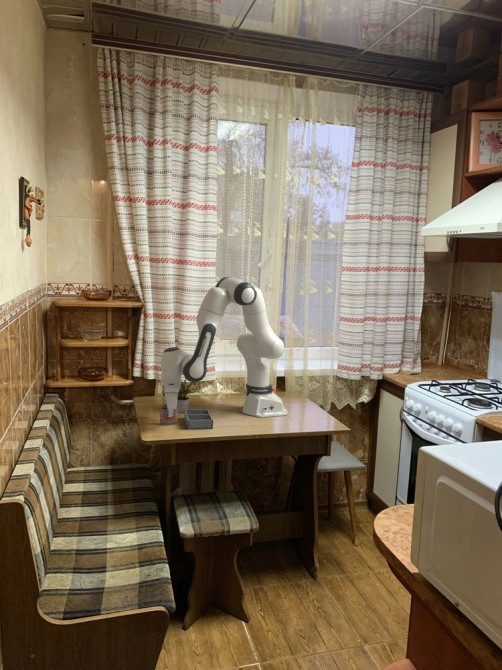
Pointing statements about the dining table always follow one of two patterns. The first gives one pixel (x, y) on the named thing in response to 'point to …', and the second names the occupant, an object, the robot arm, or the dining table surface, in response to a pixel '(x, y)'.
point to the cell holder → (198, 419)
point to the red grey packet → (167, 416)
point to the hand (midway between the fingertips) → (169, 413)
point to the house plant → (183, 396)
